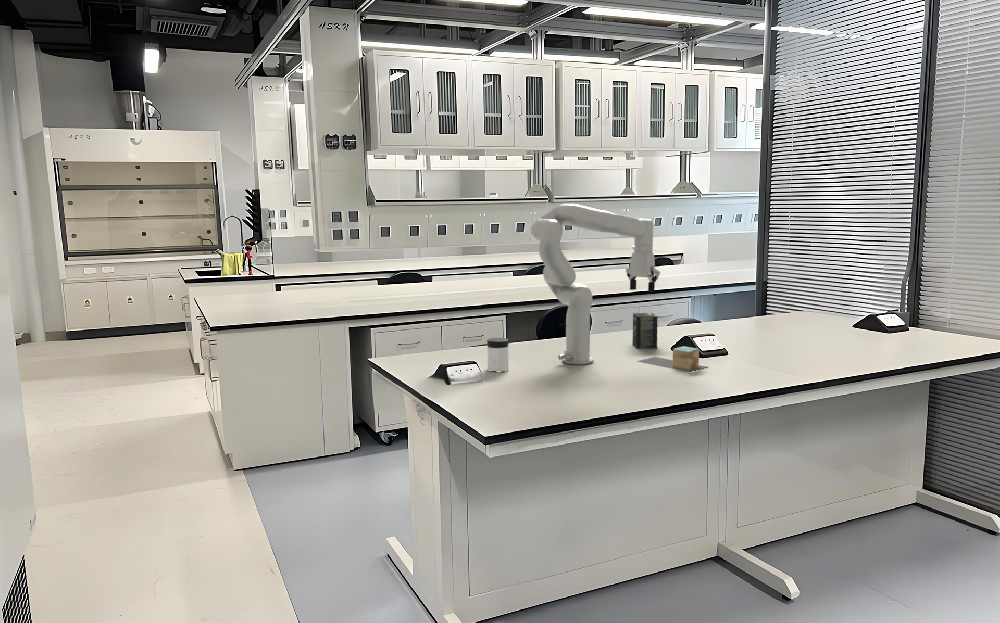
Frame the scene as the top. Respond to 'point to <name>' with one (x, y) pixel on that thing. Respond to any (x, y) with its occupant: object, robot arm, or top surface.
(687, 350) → the oak block
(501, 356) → the jar
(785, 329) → the top surface
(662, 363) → the rubber mat
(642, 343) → the tampon box
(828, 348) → the top surface
